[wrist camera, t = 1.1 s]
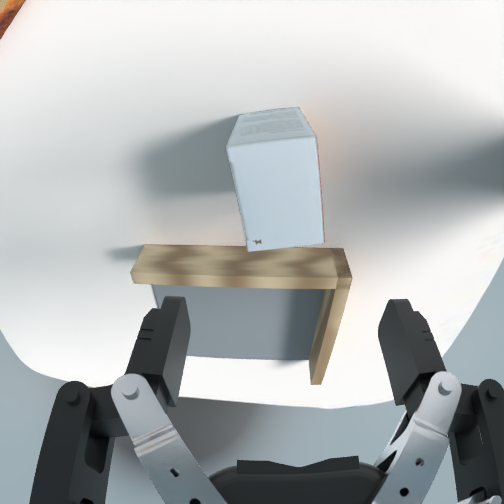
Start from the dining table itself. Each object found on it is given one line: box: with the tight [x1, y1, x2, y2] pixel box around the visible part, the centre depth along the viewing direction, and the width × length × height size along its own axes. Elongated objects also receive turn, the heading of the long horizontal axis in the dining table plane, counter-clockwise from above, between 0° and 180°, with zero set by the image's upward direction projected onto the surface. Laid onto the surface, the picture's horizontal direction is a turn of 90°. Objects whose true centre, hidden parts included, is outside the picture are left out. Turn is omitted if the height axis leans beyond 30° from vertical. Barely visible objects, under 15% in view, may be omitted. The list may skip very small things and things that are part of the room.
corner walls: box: [130, 245, 352, 385], centre depth 39 cm, size 22×20×5 cm
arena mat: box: [153, 284, 324, 360], centre depth 41 cm, size 21×19×1 cm
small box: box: [225, 107, 325, 252], centre depth 24 cm, size 8×6×10 cm
